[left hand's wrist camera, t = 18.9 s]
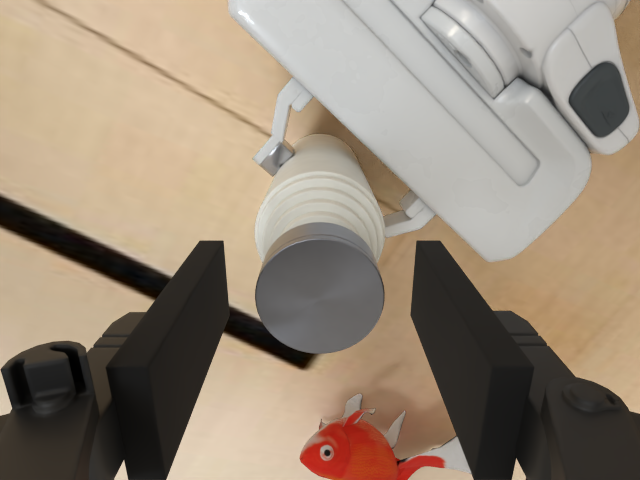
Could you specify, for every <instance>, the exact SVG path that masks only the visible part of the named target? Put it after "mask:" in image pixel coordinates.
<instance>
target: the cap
mask: <svg viewBox="0 0 640 480" xmlns="http://www.w3.org/2000/svg"><path fill="white" fill-rule="evenodd" d="M255 300H256V307H257V311H258V314H259V316H260V319H261V320H262V322H263V324H264V326H265V327H266V328H267V329H268V331H269V332H270V333H271V334H272V335H273V336H274V337H275V338H277V339H278V340H279V341H280V342H282V343H284V344H285V345H287V346H289V347H291V348H294V349H296V350H299V351H303V352H308V353H317V354H320V353H332V352H337V351H340V350H343V349H346V348H349V347H351V346H353V345H354V344H356V343H358V342H359V341H361V340H362V339H363V338H364V337H365V336H367V335H368V334H369V333H370V331H371V330H372V329H373V328H374V326H375V325H376V323H377V322H378V320H379V318H380V316H381V313H382V310H383V305H384V286H383V282H382V278H381V275H380V272H379V269H378V265H377V262H376V259H375V257H374V254H373V252H372V250H371V249H370V247H369V246H368V245H367V243H366V242H365V241H364V240H363V239H362V238H361V237H360V236H359V235H357V234H356V233H354V232H353V231H351V230H349V229H347V228H345V227H343V226H340V225H337V224H333V223H326V222H313V223H307V224H303V225H299V226H297V227H294V228H292V229H290V230H288V231H287V232H285V233H284V234H282V235H281V236H280V237H279V238H278V239H277V240H276V241H275V242H274V243H273V244H272V246H271V247H270V248H269V250H268V252H267V254H266V256H265V258H264V261H263V264H262V268H261V271H260V274H259V277H258V280H257V285H256V290H255Z"/></svg>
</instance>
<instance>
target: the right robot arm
mask: <svg viewBox="0 0 640 480" xmlns="http://www.w3.org/2000/svg"><path fill="white" fill-rule="evenodd" d="M630 1H631V0H228V12H229V15H230V16H231V17H232V18H233V19H234V20H235V21H236V22H237V23H238V24H239V25H240V26H241V27H242V28H243V29H244V30H245V31H246V32H247V33H248V34H249V35H250V36H251V37H252V38H254V39H255V40H256V41H257V42H258V43H259V44H260V45H261V46H262V47H263V48H264V49H265V50H266V51H267V52H268V53H269V54H270V55H271V56H272V57H273V58H274V59H275V60H276V61H277V62H279V63H280V64H281V65H282V66H283V67H284V68H285V69H286V70H287V71H288V72H289V73H290V74H291V75H292V76H293V77H292V78H291V80H290V81H289V82H288V83H287V84H286V86H285V87H284V88H283V89H282V90H281V92H280V93H279V94H278V97H277V102H276V108H275V113H274V119H273V125H272V130H271V134H272V136H271V138H270V139H269V140H268V141H267V142H266V143H265V144H264V146H263V147H262V148H261V149H260V150H259V151H258V153H257V154H256V155H255V156H254V157H253V160H254V161H255V162H256V163H257V164H258V165H259V166H260V167H262V168H263V169H264V170H265V171H266V172H268V173H269V174H270V175H271V176H272V177H273V176H274V175H275V174H276V173H277V172H278V170H279V169H280V167H281V165H282V164H284V163H285V162H286V161H288V160H289V158H290V157H291V156H292V155H293V154H294V151H295V149H294V148H293V147H292V146H291V145H290V144H289V143H288V142H287V141H286V140H285V136H286V131H287V126H288V121H289V116H290V111H291V106H292V108H293V109H294V110H295V111H296V112H300V111H301V110H302V109H303V108H304V107H305V106H306V105H307V103H308V102H309V101H310V100H311V99H312V98H313V97H315V98H316V99H317V100H318V101H319V102H320V103H321V104H322V105H323V106H324V107H325V108H326V109H328V110H329V111H330V112H331V113H332V114H333V115H334V116H335V117H336V118H337V119H338V120H339V121H340V122H341V123H342V124H343V125H344V126H345V127H346V128H347V129H348V130H349V131H350V132H352V133H353V134H354V135H355V136H356V137H357V138H358V139H359V140H360V141H361V142H362V143H363V144H364V145H365V146H366V147H367V148H368V149H369V150H370V151H371V152H372V153H373V154H374V155H375V156H377V157H378V158H379V159H380V160H381V161H382V162H383V163H384V164H385V165H386V166H387V167H388V168H389V169H390V170H391V171H392V172H393V173H394V174H395V175H396V176H397V177H398V178H399V179H400V180H402V181H403V182H404V183H405V184H406V185H407V186H408V187H409V188H410V189H411V190H410V191H409V192H408V193H407V194H406V195H405V196H404V197H403V198H402V199H401V200H400V201H399V204H400V206H401V207H402V209H403V210H401V211H398V212H395V213H392V214H389V215H386V216H383V219H384V223H385V237H386V238H388V237H392V236H396V235H400V234H404V233H407V232H411V231H415V230H419V229H421V228H422V227H423V226H424V225H426V224H427V223H428V222H429V221H430V220H431V219H432V218H433V217H434V216H435V215H436V214H437V215H438V216H439V217H440V218H441V219H442V220H443V221H444V222H445V223H446V224H447V225H448V226H449V227H451V228H452V229H453V230H454V231H455V232H456V233H457V234H458V235H459V236H460V237H461V238H462V239H463V240H464V241H465V242H466V243H467V244H468V245H469V246H470V247H471V248H472V249H473V250H474V251H476V252H477V253H478V254H479V255H480V256H481V257H482V258H483V259H484V260H485V261H487V262H497V261H503V260H508V259H511V258H513V257H515V256H516V255H518V254H519V253H521V252H522V251H523V250H524V249H526V248H527V247H528V246H529V245H530V244H531V243H532V242H533V241H535V240H536V239H537V238H538V237H539V236H540V235H541V234H542V233H543V232H544V231H545V230H547V229H548V228H549V227H550V226H551V225H552V224H553V223H554V222H555V221H556V220H557V219H558V218H559V217H560V216H561V215H562V214H563V213H564V212H565V211H566V209H567V208H568V207H569V206H570V205H571V204H572V203H573V202H574V201H575V200H576V199H577V197H578V196H579V195H580V193H581V192H582V191H583V189H584V188H585V186H586V184H587V182H588V180H589V177H590V174H591V169H592V160H591V156H590V153H593V154H601V155H611V154H614V153H616V152H618V151H619V150H621V149H622V148H623V147H625V146H626V145H627V144H628V143H629V142H630V141H631V140H632V139H633V138H634V137H635V136H636V134H637V132H638V130H639V117H638V113H637V110H636V107H635V103H634V100H633V97H632V94H631V91H630V87H629V84H628V81H627V77H626V73H625V70H624V66H623V62H622V58H621V54H620V49H619V45H618V39H617V34H616V28H615V22H614V20H615V19H616V18H618V17H619V16H620V15H621V14H622V12H623V11H624V10H625V8H626V7H627V5H628V4H629V2H630Z"/></svg>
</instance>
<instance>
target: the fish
mask: <svg viewBox="0 0 640 480" xmlns="http://www.w3.org/2000/svg"><path fill="white" fill-rule="evenodd" d="M362 397H363V396H362V395H361V394H357V395H355V396H354V397H352V398H350V399H349V400H348V401H347V403H346V405H345V412H344V415H343V416H342V418H338V419H334V420H332V421H331V422H329V423H328V424H324V423H322V419H321V423H320V426H319V431H317V432H316V433H315V434H314V435H313V436H312V437H311V438H310V439H309V440H308V441H307V443H306V444H305V446H304V447H303V449H302V452H301V455H300V461H301V463H303V464H304V465H305V466H306V467H307V468H308V469H309V470H310V471H312V472H313V473H315V474H317V475H318V476H321V477H324V478H328V479H332V480H407V479H408V478H409V477H410V476H411V475H412V474H413V473H414V472H415V471H416V470H418V469H419V468H421V467H424V466H431V467H438V468H447V469H454V470H459V471H463V472H467V473H470V474H471V471H470V468H469V466H468V463H467V461H466V458H465V455H464V453H463V450H462V448H461V445H460V442H459V440H458V437H457V436H455V437H454V438H453V439H451V440H450V441H448V442H447V443H445V444H444V445H442V446H441V447H439V448H433V449H432V450H431V451H428V452H425V453H422V454H419V455H416V456H412V457H409V458H406V459H403V460H399V459H397V458H395V456H394V453H393V451H392V449H393V448H394V447H395V445H396V443H397V440H398V437H399V433H400V429H401V426H402V423H403V420H404V417H405V414H406V412H405V410H404V411H403V413H402V414H401V415H400V416H399V417H398V418H397V419H396V420H395V421H394V422H393V424H392V425H391V427H390V428H389V430H388V431H387V433H386V434H385V435H384V436H383V435H382V434H381V433H380V432H379V431H378V430H377V429H376V428H375V427H374V426H372V425H371V424H370V423H368V422H366V421H364V420H362V419H361V417H362V416H363V414H364V413H365V412H367V413H370V414H371V415H372V414H374V412H375V410H376V408H373V409H361V401H362Z"/></svg>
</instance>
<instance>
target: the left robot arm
mask: <svg viewBox="0 0 640 480" xmlns="http://www.w3.org/2000/svg"><path fill="white" fill-rule="evenodd" d="M228 318H229V303H228V291H227V279H226V267H225V254H224V242H223V241H199V243H198V244H197V245H196V247H195V248H194V249H193V251H192V252H191V253H190V255H189V256H188V257H187V259H186V260H185V261H184V263H183V264H182V265H181V267H180V268H179V269H178V271H177V272H176V273H175V275H174V276H173V277H172V279H171V280H170V281H169V283H168V284H167V285H166V287H165V288H164V289H163V291H162V292H161V293H160V295H159V296H158V297H157V299H156V300H155V301H154V303H153V304H152V305H151V307H150V308H149V309H148V311H147V312H129V313H128V314H126V315H124V316H123V317H121V318H120V319H118V320H116V321H115V322H113V323H112V324H111V325H110V326H109V328H108V329H107V330H106V331H105V332H104V333H103V335H102V337H100V338H99V339H98V340H97V342H96V343H95V344H94V347H93V348H91V349H90V350H89V351H88V352H86V348H85V347H84V346H82V345H81V344H80V343H77V342H71V341H58V342H50V343H46V344H42V345H38V346H35V347H33V348H30V349H28V350H26V351H23V352H21V353H20V354H18V355H16V356H15V357H13V358H12V359H10V360H9V361H8V362H7V363H6V364H5V365H4V366H3V367H2V368H1V372H2V376H3V379H4V382H5V386H6V389H7V392H8V395H9V399H10V402H11V405H12V410H11V412H10V414H6V415H2V416H0V480H114V478H115V476H116V474H117V472H118V470H119V468H120V466H121V464H122V462H123V460H124V461H125V466H126V471H127V475H128V480H166V479H167V476H168V474H169V471H170V468H171V466H172V463H173V461H174V458H175V455H176V453H177V450H178V448H179V445H180V442H181V440H182V437H183V435H184V432H185V429H186V427H187V424H188V422H189V419H190V416H191V414H192V411H193V409H194V406H195V403H196V401H197V398H198V396H199V393H200V390H201V388H202V385H203V383H204V380H205V377H206V375H207V372H208V370H209V367H210V364H211V362H212V359H213V357H214V354H215V351H216V349H217V346H218V344H219V341H220V338H221V336H222V333H223V331H224V328H225V325H226V323H227V320H228ZM411 318H412V320H413V323H414V325H415V328H416V331H417V333H418V336H419V338H420V341H421V344H422V346H423V349H424V351H425V354H426V357H427V359H428V362H429V364H430V367H431V370H432V372H433V375H434V377H435V380H436V383H437V385H438V388H439V390H440V393H441V396H442V398H443V401H444V403H445V406H446V409H447V411H448V414H449V416H450V419H451V422H452V424H453V427H454V429H455V432H456V435H457V437H458V440H459V442H460V445H461V448H462V450H463V453H464V455H465V458H466V461H467V463H468V466H469V468H470V471H471V474H472V476H473V479H474V480H512V475H513V471H514V466H515V461H516V458H517V460H518V462H519V464H520V466H521V468H522V470H523V472H524V474H525V475H526V480H640V414H638V413H634V412H630V411H629V409H628V407H627V406H626V405H625V404H624V402H623V401H622V400H621V398H620V397H618V396H617V395H616V394H614V393H613V392H612V391H610V390H609V389H607V388H605V387H603V386H601V385H599V384H597V383H595V382H592V381H588V380H585V379H581V378H577V377H575V376H574V375H573V373H572V372H571V371H570V370H569V369H568V368H567V366H566V365H565V364H564V363H563V362H562V361H561V359H560V358H559V357H558V356H557V355H556V354H555V353H554V351H553V350H552V349H551V348H550V347H549V346H547V343H546V342H545V341H544V340H543V339H542V337H541V336H538V333H537V332H536V330H535V329H534V328H533V327H532V326H531V325H530V323H529V322H528V321H526V320H525V319H523V318H521V317H520V316H518V315H517V314H515V313H513V312H512V311H492V309H491V308H490V307H489V305H488V304H487V303H486V301H485V300H484V299H483V297H482V296H481V295H480V293H479V292H478V291H477V289H476V288H475V287H474V285H473V284H472V283H471V281H470V280H469V279H468V277H467V276H466V275H465V273H464V272H463V271H462V269H461V268H460V267H459V265H458V264H457V263H456V261H455V260H454V259H453V257H452V256H451V255H450V253H449V252H448V251H447V249H446V248H445V247H444V245H443V244H442V243H441V241H417V242H416V254H415V267H414V279H413V291H412V303H411Z"/></svg>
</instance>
